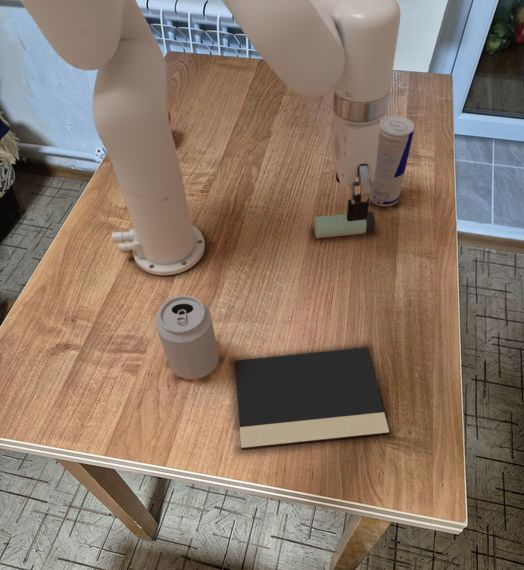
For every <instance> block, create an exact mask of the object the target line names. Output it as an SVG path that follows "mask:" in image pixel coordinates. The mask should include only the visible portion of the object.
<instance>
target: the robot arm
mask: <svg viewBox="0 0 524 570" xmlns="http://www.w3.org/2000/svg"><path fill="white" fill-rule="evenodd" d="M19 1H20V3H21V4H22V6H23V7H24V9H25V10H26V12H27V13H28V15H29V16H30V17H31V19H32V20H33V22H34V23H35V25H36V26H37V28H38V29H39V30H40V32H41V34H42V35H43V37H44V38H45V39H46V41H47V42H48V44H49V46H50V47H51V48H52V49H53V51H54V52H55V53H56V54H57V55H58V56H59V57H60V58H61V59H62V60H63V61H64V62H65V63H67V64H68V65H70V66H72V67H74V69H75V68H76V69H78V70H82V71H96V70H97V72H96V75H95V81H94V87H93V92H92V102H91V103H92V105H91V107H92V110H91V111H92V119H93V124H94V127H95V130H96V132H97V135H98V138H99V139H100V141H101V143H102V145H103V147H104V149H105V151H106V153H107V155H108V158H109V161H110V162H111V165H112V168H113V171H114V174H115V177H116V180H117V183H118V185H119V187H120V191H121V194H122V198H123V200H124V204H125V207H126V210H127V212H128V215H129V218H130V221H131V224H132V227H133V228H130V229H129V230H128V231H127V230H126V231H123V230H121V231H112V232H111V240H112V243H113V244H117V249H118V251H119V252H127V251H132V256H133V259H134V261H135V263H136V265H137V266H138V267H139V268H140V269H141V270H143V271H144V272H147V273H149V274H151V275H156V276H174V275H177V274H181V273H183V272H186V271H188V270H190V269H191V268H193V267H194V266H195V265H196V264H198V263H199V261H200V260H201V259H202V257H203V255H204V253H205V249H206V243H205V239H204V238H205V237H204V236H203V233H202V232H201V230H200V229H199V228H197V227H196V226H195V225H193V224H192V219H191V215H190V209H189V204H188V200H187V199H188V198H187V194H186V191H185V185H184V180H183V176H182V171H181V167H180V166H181V165H180V160H179V156H178V152H177V148H176V143H175V141H174V137H173V133H172V128H171V122H170V123H169V115H168V111H169V105H168V102H169V99H168V98H169V92H168V83H169V82H168V81H169V80H168V79H169V78H168V68H167V63H166V58H165V56H164V53H163V52H162V49H161V47H160V45H159V43H158V40H157V39H156V37H155V35H154V33H153V30H152V29H151V27H150V25H149V24H148V23H149V22H148V20H147V19H146V18H145V16H144V13H143V12H142V10H141V8H140V6H139V4H138V2H137V0H19ZM221 2H223V4H224V6H225V7H226V8H227V10H228V12H229V13H230V15H231V16H232V17H233V19H234V20H235V22H236V23H237V25H238V26H239V28H240V29H241V31H242V32H243V34H244V35H245V37H246V38H247V40H248V41H249V43H250V44H251V45H252V46H253V48H254V49H255V51H256V52H257V53H258V54H259V57H261V58H262V60H263V61H264V62H265V63H266V65H268V66H269V67H270V69H271V70H272V71H273V72H274V74H275V75H276V76H277V77H278V78H279V80H280V81H281V82H282V84H284V85H285V87H287V88H288V89H289V90H290V91H292V92H294V94H296V95H299V96H301V97H304V98H319V97H321V96H324V95H327V94H328V93H330V92H331V91H332V90H333V96H332V97H333V98H332V114H333V116H334V126H333V135H332V145H331V155H332V159H333V164H334V166H335V171H336V173H335V181H336V182H337V183H340V185H341V186H342V187H343V188H344V189H345V188H349V196H350V198H349V199H348V200H347V209H346V214H347V221H357V220H365V219H367V215H368V212H369V208H370V207H369V206H370V202H371V201H370V195H371V189H370V184H371V183H372V182H373V180H374V176H375V170H376V162H377V152H378V141H379V128H380V123H381V121H382V120H383V119H384V118H386V115H387V113H388V105H389V99H390V92H391V86H392V78H393V71H394V64H395V58H396V50H397V45H398V36H399V30H400V23H401V8H400V4H399V3H398V1H397V0H221ZM357 178H358V181H355V180H356V179H357ZM356 187H359V193H357V194H356Z"/></svg>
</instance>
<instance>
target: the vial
mask: <svg viewBox="0 0 524 570" xmlns="http://www.w3.org/2000/svg"><path fill="white" fill-rule="evenodd" d="M313 226H314V234H315V238H316V239H322V238H323V239H324V238H331V237H332V238H333V237H343V236H352V235H364V234H373V233H374V231H375V229H376V217H375V214H374V212H373V211H368V215H367V219H365V220H357V221H347V213H344V214H343V213H342V214H332V215H324V216H315V217H314V221H313Z"/></svg>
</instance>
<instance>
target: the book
mask: <svg viewBox="0 0 524 570" xmlns="http://www.w3.org/2000/svg"><path fill="white" fill-rule="evenodd" d="M234 372H235V382H236V383H235V384H236V396H237V408H238V409H237V411H238V423H239V436H240V437H239V438H240V439H239V440H240V448H241V450H250V449H260V448H269V447H278V446H279V447H281V446H287V445H298V444H307V443H316V442H327V441H336V440H345V439H355V438H365V437H375V436H382V435H384V436H385V435H389V434H390V429H389V426H388V421H387V417H386V414H385V412H384V407H383V402H382V399H381V395H380V391H379V387H378V384H377V383H378V382H377V379H376V375H375V370H374V368H373V364H372V360H371V356H370V351H369V348H368V346H365V347H356V348H344V349H336V350H326V351H317V352H306V353H296V354H295V353H294V354H287V355H285V354H284V355H277V356H267V357H258V358H257V357H256V358H247V359H238V360H236V359H235V360H234Z"/></svg>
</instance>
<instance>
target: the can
mask: <svg viewBox="0 0 524 570" xmlns="http://www.w3.org/2000/svg"><path fill="white" fill-rule="evenodd" d="M155 329H156V332H157V335H158V336H159V340H160V343H161V346H162V348H163V351H164V354H165V356H166V357H165V358H166V359H167V362H168V364H169V367H170V369H171V371H172V372H173V373H174V374H175V375H177V376H178V377H180V378H182V379H184V380H197V379H202V378H205V377H206V376H208V375H209V374H210V373H212V372H213V371H214V370H215V369H216V367H217V365H218V363H219V359H220V353H219V348H218V344H217V343H218V342H217V339H216V333H215V329H214V325H213V319H212V314H211V311H210V309H209V307H208V306H207V305H206V304H205V303H203V302H202V301H201V300H200V299H199V298H197V297H195V296H193V295H188V294H181V295H175V296H173V297H170V298H168V299H167V300H166V301H165V302H163V303H162V304H161V306H160V307H159V309H158V313H157V315H156V319H155Z"/></svg>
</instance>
